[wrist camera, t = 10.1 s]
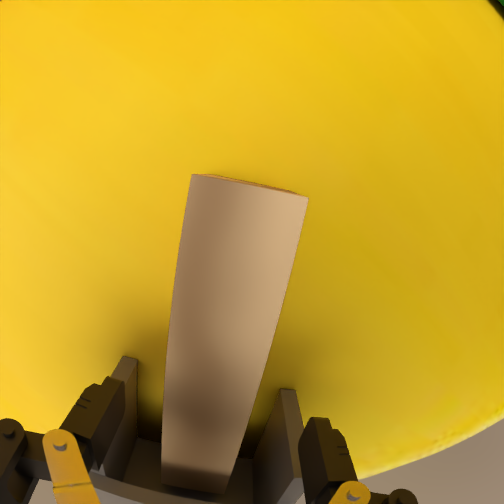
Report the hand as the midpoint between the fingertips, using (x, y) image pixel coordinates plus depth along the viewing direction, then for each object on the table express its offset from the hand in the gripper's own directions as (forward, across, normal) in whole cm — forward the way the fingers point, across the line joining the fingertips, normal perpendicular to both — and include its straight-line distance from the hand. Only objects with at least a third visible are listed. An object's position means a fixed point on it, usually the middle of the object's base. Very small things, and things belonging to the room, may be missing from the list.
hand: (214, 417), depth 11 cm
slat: (+6, 0, 0) cm, 6 cm away
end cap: (+6, 0, +7) cm, 9 cm away
